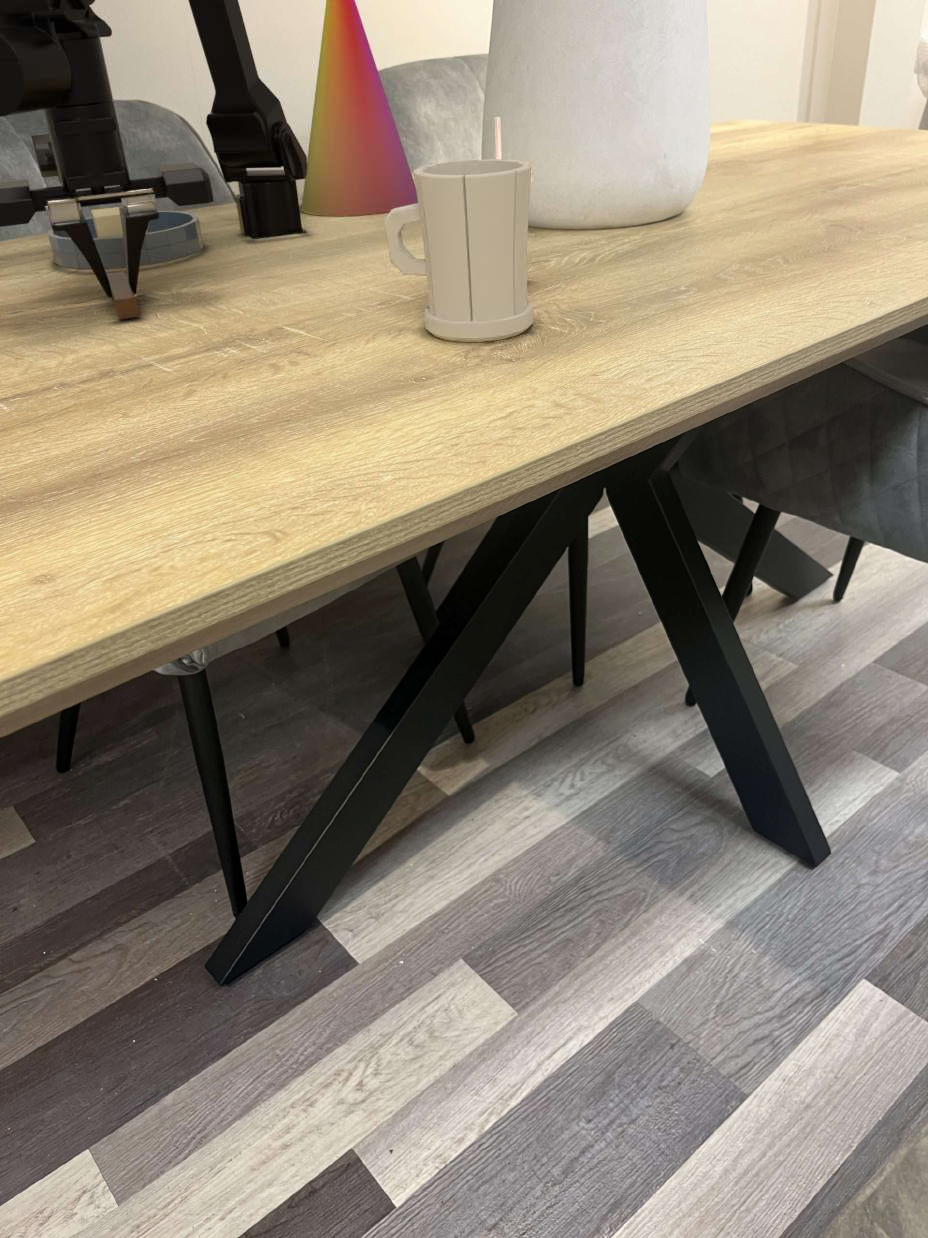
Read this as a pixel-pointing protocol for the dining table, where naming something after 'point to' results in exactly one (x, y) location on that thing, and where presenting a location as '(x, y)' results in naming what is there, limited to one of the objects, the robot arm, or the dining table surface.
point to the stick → (122, 296)
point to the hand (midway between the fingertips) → (122, 294)
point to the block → (107, 222)
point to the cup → (469, 247)
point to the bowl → (161, 244)
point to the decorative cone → (352, 128)
